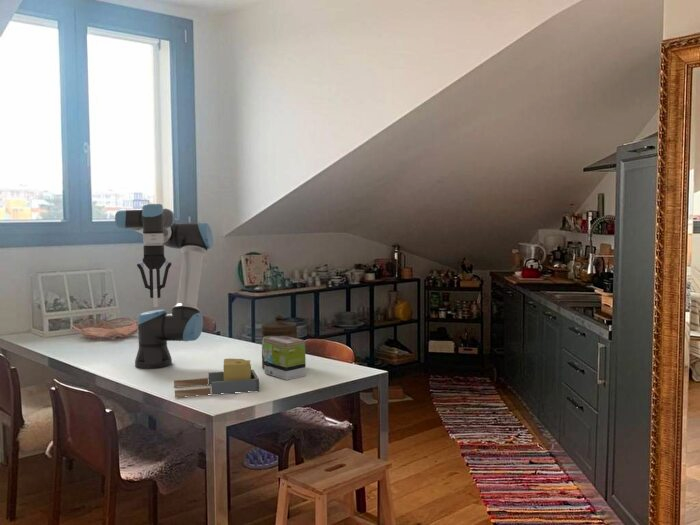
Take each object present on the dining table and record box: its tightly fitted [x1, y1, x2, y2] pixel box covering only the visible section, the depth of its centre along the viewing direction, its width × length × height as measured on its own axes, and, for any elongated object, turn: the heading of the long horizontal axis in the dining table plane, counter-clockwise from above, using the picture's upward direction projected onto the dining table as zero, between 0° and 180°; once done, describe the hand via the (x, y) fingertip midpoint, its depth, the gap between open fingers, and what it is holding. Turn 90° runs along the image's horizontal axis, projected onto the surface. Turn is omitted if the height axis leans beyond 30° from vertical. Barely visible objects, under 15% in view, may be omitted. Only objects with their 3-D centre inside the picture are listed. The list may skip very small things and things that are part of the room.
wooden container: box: [260, 314, 298, 370], centre depth 294 cm, size 15×15×22 cm
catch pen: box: [207, 369, 260, 395], centre depth 262 cm, size 16×17×4 cm
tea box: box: [263, 336, 307, 381], centre depth 280 cm, size 15×10×15 cm
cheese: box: [223, 358, 252, 381], centre depth 263 cm, size 10×11×10 cm
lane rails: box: [173, 377, 212, 398], centre depth 258 cm, size 16×12×2 cm
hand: (155, 306), depth 269 cm, fingers closed
